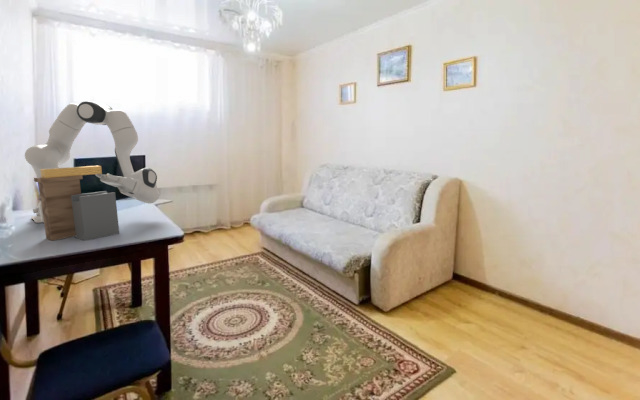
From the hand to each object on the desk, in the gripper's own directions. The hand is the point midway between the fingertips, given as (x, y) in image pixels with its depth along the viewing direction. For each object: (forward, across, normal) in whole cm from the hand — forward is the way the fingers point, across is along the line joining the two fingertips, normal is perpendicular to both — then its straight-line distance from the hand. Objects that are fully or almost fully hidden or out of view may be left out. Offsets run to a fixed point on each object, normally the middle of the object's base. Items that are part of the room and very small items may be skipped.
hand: (101, 174), depth 163 cm
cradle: (-5, +11, +26) cm, 29 cm away
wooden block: (+10, 0, +5) cm, 12 cm away
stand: (+2, 0, +31) cm, 31 cm away
